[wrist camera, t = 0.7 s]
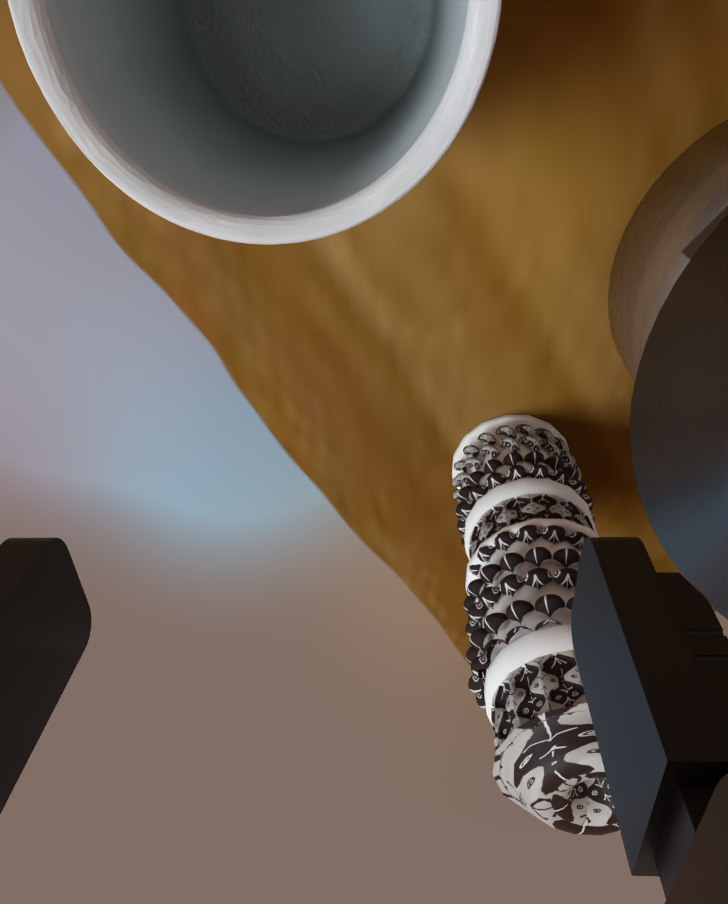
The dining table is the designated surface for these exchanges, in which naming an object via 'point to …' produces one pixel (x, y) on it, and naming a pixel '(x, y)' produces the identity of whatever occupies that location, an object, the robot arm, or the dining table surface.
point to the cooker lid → (688, 421)
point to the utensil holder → (261, 102)
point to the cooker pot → (666, 239)
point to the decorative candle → (530, 617)
